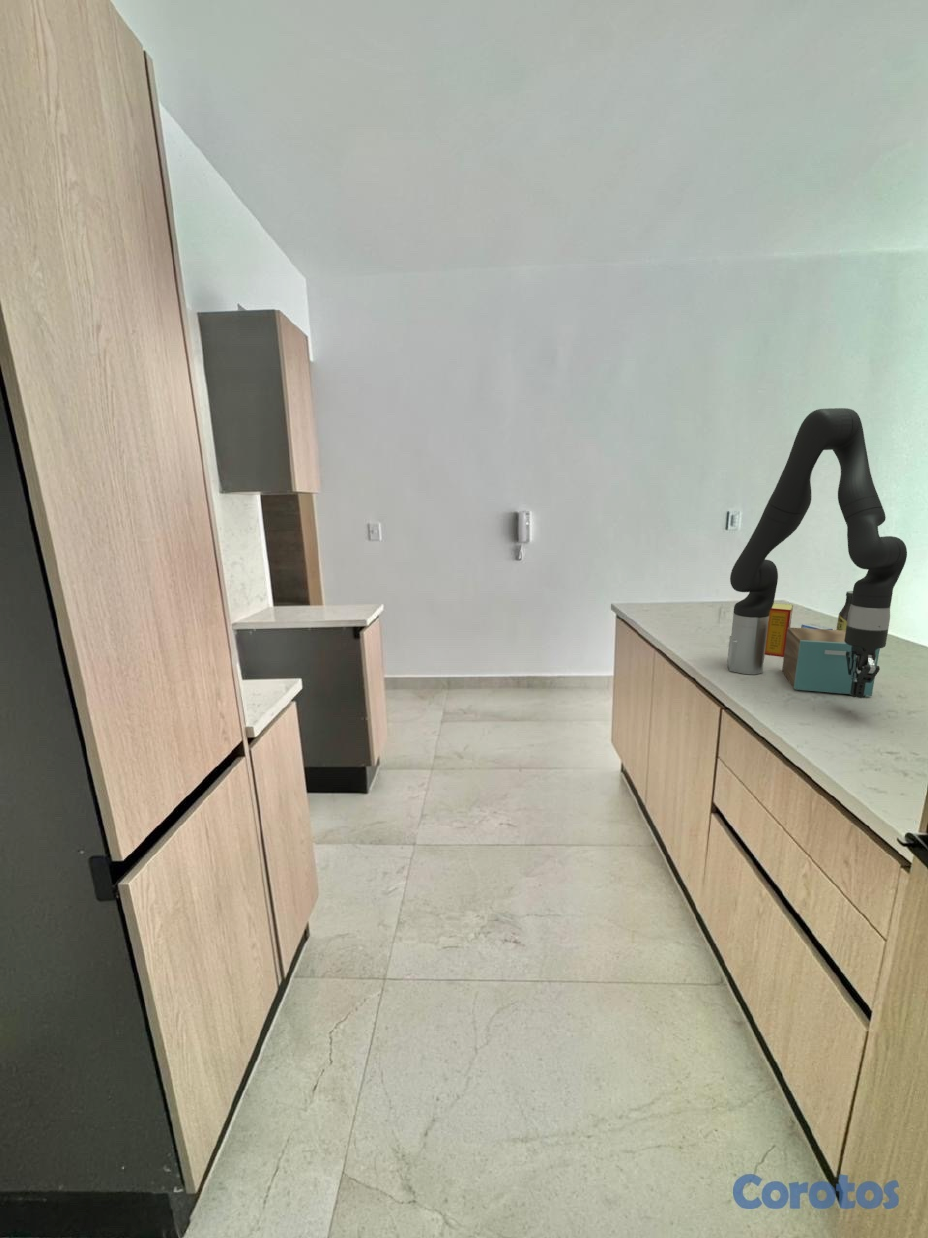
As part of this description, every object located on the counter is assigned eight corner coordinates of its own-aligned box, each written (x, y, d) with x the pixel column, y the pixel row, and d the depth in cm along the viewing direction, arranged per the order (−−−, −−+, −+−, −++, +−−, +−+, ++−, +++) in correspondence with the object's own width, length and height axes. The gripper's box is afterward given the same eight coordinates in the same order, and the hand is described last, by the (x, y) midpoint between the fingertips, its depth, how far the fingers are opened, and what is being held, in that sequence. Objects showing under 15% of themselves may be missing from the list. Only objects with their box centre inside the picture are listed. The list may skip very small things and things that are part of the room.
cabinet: (794, 689, 137) (801, 641, 134) (781, 671, 150) (787, 627, 147) (866, 695, 131) (874, 645, 128) (846, 676, 145) (853, 630, 142)
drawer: (794, 689, 135) (801, 641, 132) (781, 671, 148) (787, 627, 145) (871, 696, 129) (880, 646, 126) (851, 676, 143) (858, 631, 140)
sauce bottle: (834, 646, 173) (842, 589, 168) (857, 649, 169) (866, 591, 164) (832, 651, 168) (841, 592, 163) (856, 654, 164) (865, 594, 159)
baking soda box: (765, 647, 174) (770, 601, 170) (787, 649, 170) (793, 603, 166) (761, 654, 167) (767, 606, 163) (784, 657, 163) (790, 609, 159)
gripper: (901, 633, 108) (888, 708, 111) (874, 619, 120) (864, 688, 124) (859, 631, 110) (848, 705, 114) (837, 618, 122) (828, 685, 126)
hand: (856, 696), depth 119 cm, fingers closed
